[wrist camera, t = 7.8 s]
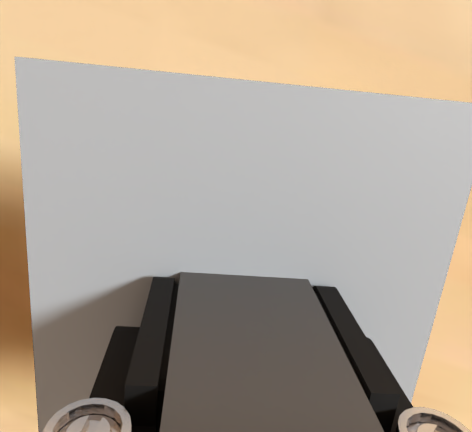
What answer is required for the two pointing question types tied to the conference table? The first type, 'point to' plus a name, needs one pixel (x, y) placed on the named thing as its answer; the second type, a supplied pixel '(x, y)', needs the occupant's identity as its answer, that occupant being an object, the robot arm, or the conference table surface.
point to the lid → (235, 235)
